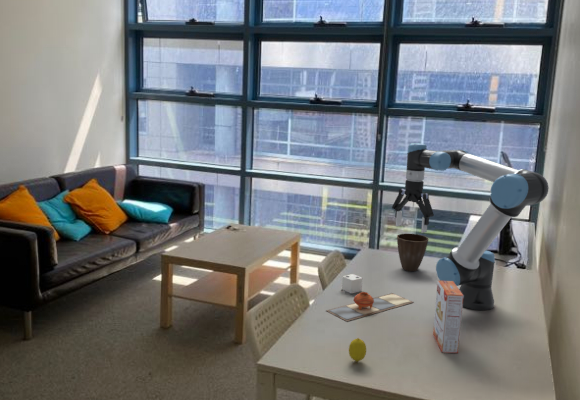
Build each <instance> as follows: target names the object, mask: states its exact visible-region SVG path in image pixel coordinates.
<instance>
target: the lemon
mask: <svg viewBox="0 0 580 400" xmlns="http://www.w3.org/2000/svg"><path fill="white" fill-rule="evenodd" d="M348 354H349V357H350V358H351V359H352V360H353V361H355V363H357V362H360V361H362V360H364V358H365V357H366V355H367V345H366V343H365V342H364V341H363V340H362V338H359V337H358V338H354V339H353V340H351V342H350V343H349V346H348Z"/></svg>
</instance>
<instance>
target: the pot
mask: <svg viewBox="0 0 580 400" xmlns="http://www.w3.org/2000/svg"><path fill="white" fill-rule="evenodd" d="M373 298H374V297H373V296H371V294H369V293H368V292H366V291H360V292H358V293H357V294H356V295H355V296H354V297H353V301H354V302H353V303H356V304H357V305H358V306H359V310H361V308H362V307H369V306H370V309H371V308H372V305H373V303H374V299H373Z"/></svg>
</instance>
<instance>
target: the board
mask: <svg viewBox="0 0 580 400" xmlns="http://www.w3.org/2000/svg"><path fill="white" fill-rule="evenodd" d="M372 298H373V299H374V303H373V305H372V308H371V309H370V306H369V307H362V308H361V310H359V306H358V305H357V304H356V303H355V302H353V303H350V304H346V305H342V306H341V305H340V306H337V307H334V308H331V309H326V310H325V312H328V313H329V314H332V315H333V316H335V317H337V318H339V319H341V320H344V321H345V322H352V321H355V320H358V319H361V318H365V317H368V316H371V315H375V314H378V313H382V312H385V311H390V310H393V309H396V308H400V307H404V306H407V305H410V304H413V303H414V301H412V300H410V299H408V298H405V297H402V296H401V295H398V294H396V293H392V292H390V293H386V294H384V295H380V296H376V297H372Z"/></svg>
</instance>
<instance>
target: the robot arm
mask: <svg viewBox="0 0 580 400" xmlns="http://www.w3.org/2000/svg"><path fill="white" fill-rule="evenodd" d="M406 154H407V156H406V158H407V160H406V171H405V173H406V174H405V179H406V180H405V185H404V188H400V189H399V190H398V194H397V197H396V198H395V201H394V203H393V204H392V206H391V209H393V210H394V211H395V215H394V217H395V219H396V220H395V227H401V226H402V219H403V218H402V217H403V211H402V210H403V208H404V207H405V205H407V203H408V202H412V203H416V205H417V207H418V208H419V210H420V211H421V213H422V215H423V216H422V220H421V231H420V232H421V234H423V233H427V230H428V226H429V223H430V218H431V217H434V212H433V208H432V204H431V201H430V196H429V193H427V192H426V193H423V190H424V184H425V183H424V180H425V171H426V169H429V170H430V169H431V170H434V171H443V172H444V171H446V170H447V169H456V170H458V171H461V172H463V173H466V174H470V175H472V176H475V177H478V178H480V179H483V180H485V181H489V182H491V183H492V184H491V187H490V197H489V205H488V207H487V208H486V209H485V211H484V212H483V213H482V215H481V216H480V218H479V219H478V220H477V222H476V223H475V225H474V226H473V227H472V229H471V230H470V232H469V233H468V234H467V235H466V237H465V238H464V239H463V240H462V243H461V244H460V245H459V246H455V247H454V248H452V249H451V251H450V253H449V254H448V255H447V256H445V257H442V258H440V259H439V260H438V261H437V262H436V265H435V272H436V277H437V278H438V281H454V283H455V284H456V286H457V287H459V286H460V287H459V290H460V291H461V293H462V294H463V295H464V299H463V308H466V309H469V310H475V311H488V310H489V311H490V310H492V309H493V308H494V306H495V299H494V294H493V290H492V285H493V276H494V268H495V263H496V262H495V260H496V259H495V258H496V257H495V256H496V255H495V253H494V252H491V251H490V250H488V248H489V247H490V246H491V244H492V243H493V242H494V240H495V239H496V238H497V236H499V234H500V232H501V231H502V230H503V229H504V227H505V226H506V225H507V224H508V222H509V221H510V219H511V218H517V217H518V216H520V214H521V213H522V211H523V210H524V209H525V208H526V207H527V206H532V205H537V204H540V203H541V202H543V201H544V200H545V199H546V197H547V195H548V194H549V189H550V188H549V183H548V181H547V179H546V178H545V176H543V175H542V174H540V173H538V172H534V171H531V170H529V169H524V168H522V169H516V168H513V167H510V166H507V165H505V164H501V163H497V162H495V161H492V160H488V159H485V158H483V157H480V156H476V155H474V154H470V153H469V151H467V150H465V149H460V148H458V149H449V150H448V149H447V150H431V149H428V148H427V144H425V143H418V142H415V143H414V142H412V143H410V144H408V147H407V153H406Z"/></svg>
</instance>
